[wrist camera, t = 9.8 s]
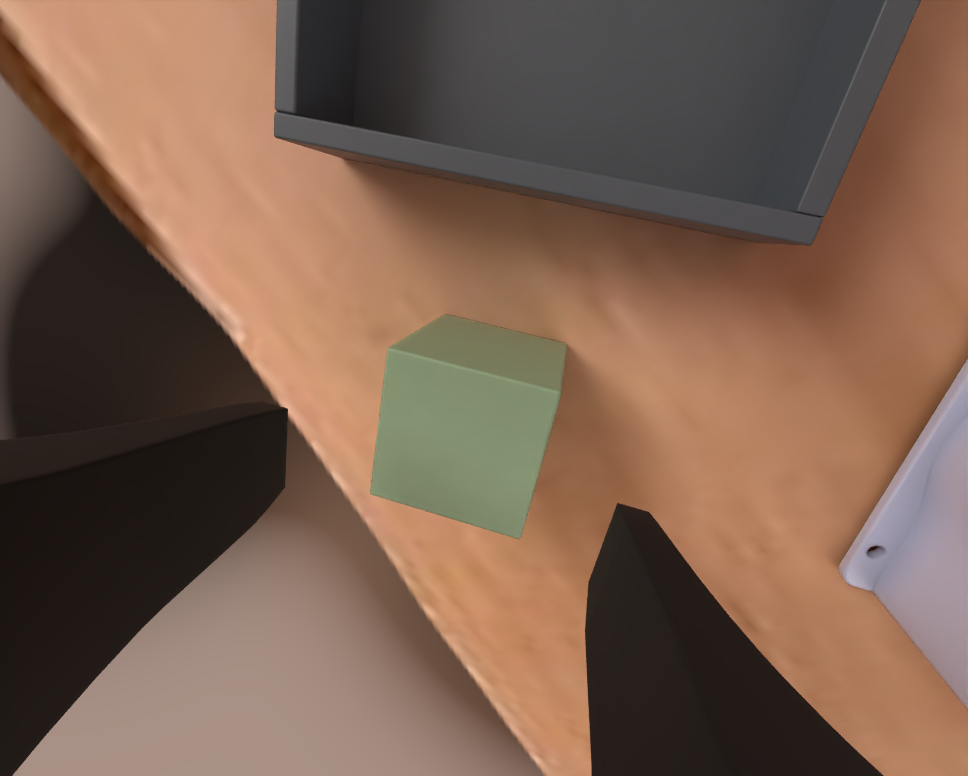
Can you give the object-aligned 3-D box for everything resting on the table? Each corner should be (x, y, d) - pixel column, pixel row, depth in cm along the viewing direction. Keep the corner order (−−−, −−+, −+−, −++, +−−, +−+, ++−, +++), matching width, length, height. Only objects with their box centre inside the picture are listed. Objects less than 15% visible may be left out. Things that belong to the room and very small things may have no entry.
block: (537, 455, 17) (520, 541, 12) (425, 424, 17) (368, 495, 13) (568, 343, 15) (562, 392, 10) (444, 313, 16) (386, 347, 11)
